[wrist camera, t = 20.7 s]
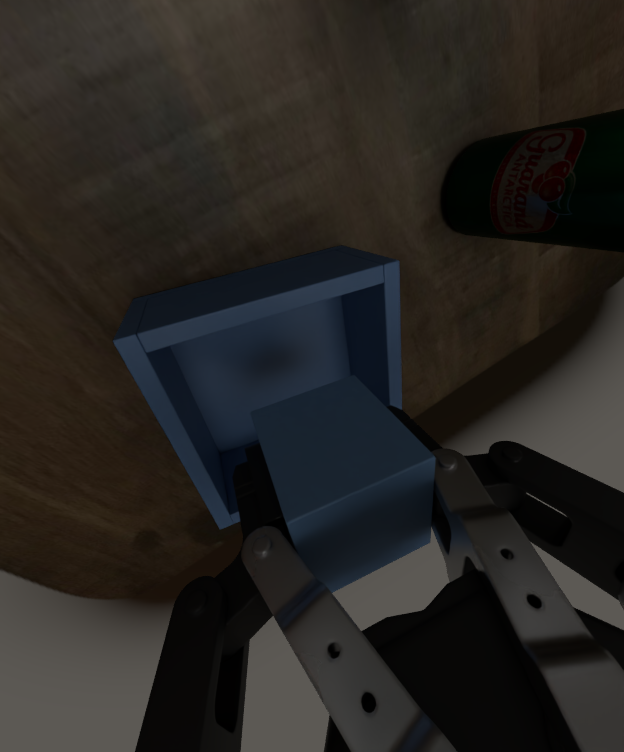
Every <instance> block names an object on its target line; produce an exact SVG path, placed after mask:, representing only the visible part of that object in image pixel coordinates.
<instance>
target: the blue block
mask: <svg viewBox="0 0 624 752" xmlns="http://www.w3.org/2000/svg"><path fill="white" fill-rule="evenodd" d="M250 414H251V417H252V420H253V423H254V426H255V429H256V433H257V436H258V439H259V442H260V445H261V448H262V451H263V454H264V457H265V460H266V463H267V466H268V469H269V473H270V476H271V479H272V482H273V485H274V488H275V491H276V494H277V497H278V500H279V503H280V506H281V510H282V513H283V516H284V519H285V522H286V525H287V527H288V530H289V533H290V536H291V538H292V541H293V544H294V546H295V549H296V552H297V554H298V555H299V556H300V558H301V559H302V560H303V562H304V563H305V564H306V566H307V567H308V568H309V570H310V571H311V572H312V574H313V575H314V576H315V577H316V579H317V580H318V581H319V582H323V583H324V584H325V585H326V586H327V588H328V589H329V590H330V591H331V593H333V592H335V591H336V590H338V589H340V588H342V587H344V586H346V585H348V584H350V583H352V582H354V581H356V580H358V579H359V578H362V577H364V576H366V575H368V574H370V573H372V572H373V571H375V570H377V569H379V568H381V567H383V566H385V565H387V564H389V563H391V562H393V561H395V560H397V559H399V558H401V557H403V556H405V555H407V554H409V553H411V552H412V551H414V550H417V549H419V548H420V547H422V546H424V545H426V544H428V543H430V538H431V522H432V507H433V491H434V476H435V460H436V458H435V456H434V455H433V454H432V453H431V452H430V451H429V450H428V449H427V448H426V447H425V446H424V445H423V444H422V443H421V442H420V441H419V440H418V439H417V438H416V437H415V436H414V435H413V434H412V433H411V432H410V431H409V430H408V429H407V428H406V427H405V426H404V425H403V424H402V422H401V421H400V420H399V419H398V418H397V417H396V416H395V415H394V414H393V413H392V412H391V411H390V410H389V409H388V408H387V407H386V406H385V405H384V404H383V403H382V402H381V401H380V400H379V399H378V398H377V397H376V396H375V395H374V394H373V393H372V392H371V391H370V390H369V389H368V388H367V387H366V386H365V385H364V384H363V383H362V382H361V381H360V380H359V379H358V378H357V377H356V376H355V375H352V376H349V377H346V378H343V379H340V380H338V381H335V382H332V383H329V384H327V385H324V386H321V387H318V388H315V389H313V390H310V391H307V392H304V393H301V394H299V395H296V396H293V397H290V398H287V399H285V400H282V401H279V402H276V403H274V404H271V405H268V406H265V407H262V408H260V409H257V410H254V411H251V413H250Z"/></svg>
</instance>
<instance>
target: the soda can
mask: <svg viewBox="0 0 624 752" xmlns="http://www.w3.org/2000/svg"><path fill="white" fill-rule="evenodd" d="M446 208H447V213H448V216H449V219H450V221H451V223H452V225H453V226H454V228H455V229H456V230H457V231H459V232H460V233H462V234H465V235H470V236H480V237H489V238H498V239H507V240H516V241H525V242H534V243H543V244H552V245H561V246H571V247H580V248H589V249H598V250H607V251H616V252H624V109H620V110H615V111H611V112H606V113H601V114H597V115H592V116H587V117H583V118H578V119H573V120H569V121H564V122H559V123H555V124H550V125H545V126H541V127H536V128H531V129H527V130H522V131H517V132H513V133H508V134H503V135H499V136H494V137H489V138H485V139H482V140H480V141H478V142H476V143H475V144H473V145H472V146H471V147H470V148H469V149H468V150H467V151H466V152H465V153H464V154H463V156H462V157H461V158H460V160H459V161H458V163H457V165H456V166H455V168H454V170H453V172H452V174H451V177H450V180H449V183H448V187H447V193H446Z"/></svg>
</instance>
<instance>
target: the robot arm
mask: <svg viewBox="0 0 624 752" xmlns="http://www.w3.org/2000/svg"><path fill="white" fill-rule="evenodd" d="M387 408H388V409H389V410H390V411H391V412H392V413H393V414H394V415H395V416H396V417H397V418H398V419H399V420H400V421H401V422H402V424H403V425H404V426H405V427H406V428H407V429H408V430H409V431H410V432H411V433H412V434H413V435H414V436H415V437H416V438H417V439H418V440H419V441H420V442H421V443H422V444H423V445H424V446H425V447H426V448H427V449H428V450H429V451H430V452H431V453H432V454H433V455H434V456H435V458H436V460H435V476H434V491H433V507H432V522H431V527H432V529H433V531H434V534H435V536H436V539H437V542H438V544H439V546H440V549H441V551H442V554H443V556H444V559H445V563H446V567H447V573H448V577H449V581H450V583H448V584H447V585H446V586H445V587H444V588H443V589H442V590H441V591H440V593H439V594H438V595H437V596H436V597H435V598H434V600H433V601H432V602H431V603H430V604H429V605H428V606H427V607H426V608H425V609H424V610H422V611H418V612H413V613H408V614H402V615H396V616H391V617H387V618H385V619H383V620H381V621H379V622H377V623H376V624H374V625H372V626H370V627H368V628H367V629H365V630H363V631H361V630H360V629H359V628H358V627H357V625H356V624H355V623H354V621H353V620H352V619H351V617H350V616H349V615H348V613H347V612H346V611H345V610H344V608H343V607H342V606H341V604H340V603H339V602H338V600H337V599H336V598H335V597H334V595H333V594H332V593H331V591H330V590H329V589H328V588H327V586H326V585H325V584H324V583H323V582H319V581H318V580H317V579H316V577H315V576H314V575H313V574H312V572H311V571H310V570H309V568H308V567H307V566H306V564H305V563H304V562H303V560H302V559H301V558H300V556H299V555H298V554H297V552H296V549H295V546H294V544H293V541H292V538H291V536H290V533H289V530H288V527H287V525H286V522H285V519H284V516H283V513H282V510H281V506H280V503H279V500H278V497H277V494H276V491H275V488H274V485H273V482H272V479H271V476H270V473H269V469H268V466H267V463H266V460H265V457H264V454H263V451H262V448H261V445H260V442H259V443H257V444H254V445H251V446H249V447H246V448H244V449H245V453H246V457H247V461H246V462H244V463H241V464H239V465H236V466H235V470H234V473H233V477H232V479H233V484H234V489H235V495H236V499H237V506H238V511H239V516H240V522H241V527H242V533H243V543H242V547H241V550H240V552H239V554H238V555H237V557H236V559H235V560H234V561H233V562H232V563H231V564H230V565H229V566H228V567H227V568H225V570H223V571H222V572H221V573H220V574H218V575H217V576H216V577H215V578H213V577H211V576H203V577H199V578H197V579H195V580H193V581H192V582H190V583H189V584H187V585H186V586H185V588H184V589H183V590H182V591H181V592H180V594H179V596H178V597H177V599H176V601H175V604H174V608H173V611H172V615H171V618H170V622H169V626H168V630H167V633H166V637H165V641H164V645H163V649H162V652H161V656H160V660H159V664H158V667H157V671H156V675H155V679H154V683H153V686H152V690H151V693H150V697H149V701H148V705H147V708H146V712H145V716H144V720H143V724H142V727H141V731H140V735H139V739H138V742H137V746H136V750H135V752H240V750H241V738H242V725H243V714H244V701H245V690H246V677H247V665H248V653H249V641H250V639H251V638H252V637H253V636H254V635H255V634H256V633H257V631H259V629H260V628H261V627H262V626H263V625H264V624H265V623H266V622H267V621H268V620H269V619H270V618H271V617H272V616H274V618H275V620H276V621H277V623H278V625H279V627H280V628H281V630H282V632H283V634H284V635H285V637H286V639H287V641H288V642H289V644H290V646H291V647H292V649H293V651H294V653H295V655H296V656H297V658H298V660H299V662H300V663H301V665H302V667H303V669H304V670H305V672H306V674H307V676H308V677H309V679H310V681H311V683H312V684H313V686H314V688H315V690H316V691H317V693H318V695H319V697H320V698H321V700H322V702H323V704H324V705H325V707H326V709H327V711H328V712H329V714H330V716H329V723H328V729H327V735H326V743H325V748H324V752H624V630H622V629H620V628H617V627H615V626H613V625H611V624H609V623H607V622H604V621H602V620H600V619H598V618H596V617H593V616H591V615H589V614H587V613H585V612H583V611H580V610H578V609H576V608H574V607H572V605H571V604H570V602H569V601H568V599H567V598H566V596H565V594H564V593H563V591H562V590H561V589H560V587H559V585H558V584H557V582H556V581H555V579H554V578H553V576H552V575H551V573H550V572H549V570H548V569H547V567H546V566H545V564H544V562H543V561H542V559H541V558H540V556H539V555H538V553H537V552H536V551H535V549H534V547H533V546H532V544H531V543H530V542H532V543H533V544H535V545H536V546H538V547H540V548H541V549H542V550H544V551H545V552H547V553H548V554H550V555H551V556H553V557H554V558H556V559H557V560H559V561H560V562H562V563H563V564H565V565H566V566H568V567H570V568H571V569H572V570H574V571H575V572H577V573H579V574H580V575H581V576H583V577H584V578H586V579H588V580H589V581H590V582H592V583H593V584H595V585H596V586H598V587H599V588H601V589H602V590H604V591H605V592H607V593H609V594H610V595H612V596H613V597H614V598H616V599H617V600H619V601H620V604H621V606H622V608H623V609H624V493H623V492H621V491H619V490H617V489H615V488H612V487H610V486H608V485H606V484H604V483H602V482H600V481H598V480H595V479H593V478H591V477H589V476H587V475H585V474H583V473H580V472H578V471H576V470H574V469H572V468H570V467H568V466H566V465H564V464H561V463H559V462H557V461H555V460H553V459H551V458H549V457H547V456H544V455H542V454H540V453H538V452H536V451H534V450H532V449H529V448H527V447H525V446H523V445H521V444H519V443H516V442H511V441H499V442H496V443H494V444H493V445H492V446H491V447H490V449H489V453H488V454H479V455H471V456H463V455H462V454H460V453H459V452H457V451H455V450H451V449H444V448H442V447H441V446H440V445H439V444H438V443H437V442H436V441H434V440H433V439H432V438H431V437H430V436H429V435H428V434H427V433H426V432H425V431H424V430H423V429H422V428H421V427H420V426H419V425H417V424H416V423H415V422H414V421H413V420H412V419H410V417H409V416H408V415H407V414H406V413H405V412H404V411H403V410H401V409H399V408H397V407H394V406H392V405H390V406H387ZM526 492H527V493H529V494H531V495H532V496H534V497H536V498H538V499H539V500H541V501H543V502H545V503H546V504H548V505H550V506H552V507H554V508H555V509H557V510H559V511H561V512H562V513H564V514H565V515H566V516H567V517H566V516H564V515H562V514H561V513H559V512H557V511H555V510H554V509H552V508H550V507H548V506H547V505H545V504H543V503H542V502H540V501H538V500H536V499H534V498H533V497H531V496H529V495H527V494H526Z"/></svg>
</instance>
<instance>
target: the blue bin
mask: <svg viewBox="0 0 624 752" xmlns="http://www.w3.org/2000/svg"><path fill="white" fill-rule="evenodd" d="M113 343H114V345H115V346H116V348H117V350H118V352H119V353H120V355H121V357H122V359H123V360H124V362H125V364H126V366H127V367H128V369H129V371H130V373H131V374H132V376H133V378H134V380H135V381H136V383H137V385H138V387H139V388H140V390H141V392H142V394H143V395H144V397H145V399H146V401H147V402H148V404H149V406H150V408H151V409H152V411H153V413H154V415H155V416H156V418H157V420H158V422H159V423H160V425H161V427H162V429H163V430H164V432H165V434H166V436H167V437H168V439H169V441H170V443H171V444H172V446H173V448H174V450H175V451H176V453H177V455H178V457H179V458H180V460H181V462H182V464H183V465H184V467H185V469H186V471H187V472H188V474H189V476H190V478H191V479H192V481H193V483H194V485H195V486H196V488H197V490H198V492H199V493H200V495H201V497H202V499H203V500H204V502H205V504H206V506H207V507H208V509H209V511H210V513H211V514H212V516H213V518H214V520H215V521H216V523H217V525H218V527H219V528H220V529H223V528H225V527H227V526H230V525H232V524H234V523H237V522H239V521H240V516H239V511H238V506H237V499H236V495H235V489H234V484H233V479H232V477H233V473H234V470H235V466H236V465H239V464H241V463H244V462H246V461H247V457H246V453H245V449H244V448H246V447H249V446H251V445H254V444H257V443H259V439H258V436H257V433H256V429H255V426H254V423H253V420H252V417H251V414H250V413H251V411H254V410H257V409H260V408H262V407H265V406H268V405H271V404H274V403H276V402H279V401H282V400H285V399H287V398H290V397H293V396H296V395H299V394H301V393H304V392H307V391H310V390H313V389H315V388H318V387H321V386H324V385H327V384H329V383H332V382H335V381H338V380H340V379H343V378H346V377H349V376H352V375H355V376H356V377H357V378H358V379H359V380H360V381H361V382H362V383H363V384H364V385H365V386H366V387H367V388H368V389H369V390H370V391H371V392H372V393H373V394H374V395H375V396H376V397H377V398H378V399H379V400H380V401H381V402H382V403H383V404H384V405H385V406H386V407H387V406H390V405H392V406H394V407H397V408H399V409H401V410H402V387H401V330H400V272H399V260H396V259H392V258H388V257H384V256H380V255H377V254H373V253H369V252H365V251H361V250H357V249H354V248H350V247H346V246H343V245H341V246H337V247H333V248H329V249H325V250H321V251H317V252H313V253H310V254H306V255H302V256H298V257H294V258H290V259H286V260H282V261H279V262H275V263H271V264H267V265H263V266H259V267H255V268H251V269H247V270H244V271H240V272H236V273H232V274H228V275H224V276H220V277H216V278H213V279H209V280H205V281H201V282H197V283H193V284H189V285H185V286H181V287H178V288H174V289H170V290H166V291H162V292H158V293H154V294H150V295H147V296H143V297H139V298H135V299H133V301H132V303H131V305H130V307H129V309H128V311H127V313H126V315H125V317H124V319H123V321H122V323H121V325H120V327H119V329H118V331H117V333H116V335H115V337H114V339H113Z"/></svg>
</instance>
